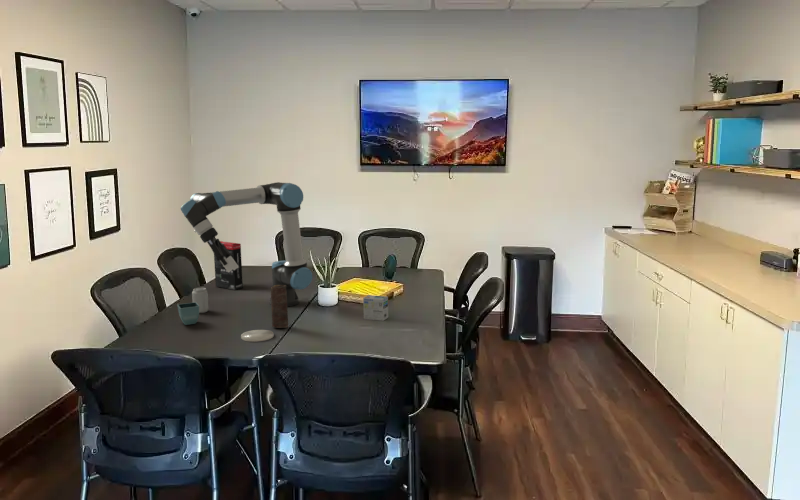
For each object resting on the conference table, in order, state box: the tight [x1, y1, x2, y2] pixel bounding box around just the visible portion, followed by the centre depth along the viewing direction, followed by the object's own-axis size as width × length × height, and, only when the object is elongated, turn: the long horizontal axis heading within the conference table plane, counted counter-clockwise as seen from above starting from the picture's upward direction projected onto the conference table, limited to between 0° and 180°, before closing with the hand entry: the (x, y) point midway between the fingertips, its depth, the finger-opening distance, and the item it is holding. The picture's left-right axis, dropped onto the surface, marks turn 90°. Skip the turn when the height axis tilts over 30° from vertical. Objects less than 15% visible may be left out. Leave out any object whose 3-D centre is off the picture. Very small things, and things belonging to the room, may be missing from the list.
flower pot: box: [176, 301, 200, 326], centre depth 309 cm, size 9×9×9 cm
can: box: [191, 287, 209, 314], centre depth 331 cm, size 8×8×12 cm
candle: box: [270, 285, 289, 329], centre depth 300 cm, size 8×7×20 cm
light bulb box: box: [362, 294, 389, 322], centre depth 316 cm, size 11×7×11 cm, turn 71°
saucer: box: [240, 329, 275, 343], centre depth 288 cm, size 14×14×1 cm
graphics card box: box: [213, 240, 244, 291], centre depth 383 cm, size 17×7×27 cm, turn 58°
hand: (233, 269), depth 298 cm, fingers open, 13 cm apart
